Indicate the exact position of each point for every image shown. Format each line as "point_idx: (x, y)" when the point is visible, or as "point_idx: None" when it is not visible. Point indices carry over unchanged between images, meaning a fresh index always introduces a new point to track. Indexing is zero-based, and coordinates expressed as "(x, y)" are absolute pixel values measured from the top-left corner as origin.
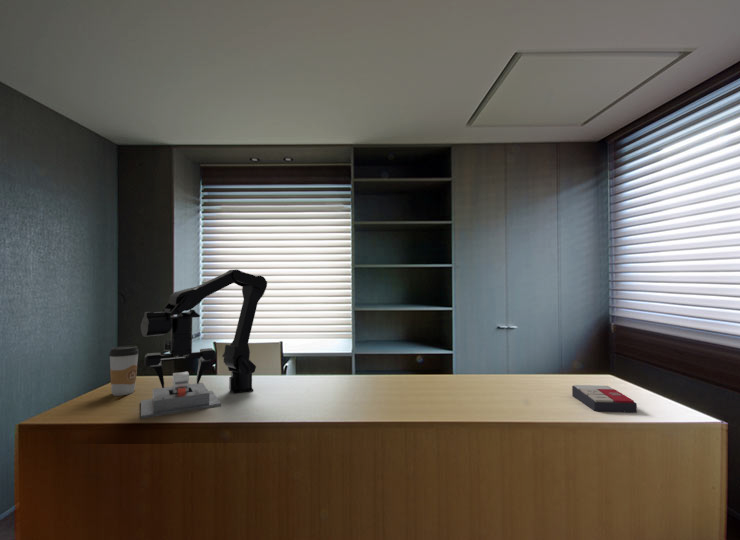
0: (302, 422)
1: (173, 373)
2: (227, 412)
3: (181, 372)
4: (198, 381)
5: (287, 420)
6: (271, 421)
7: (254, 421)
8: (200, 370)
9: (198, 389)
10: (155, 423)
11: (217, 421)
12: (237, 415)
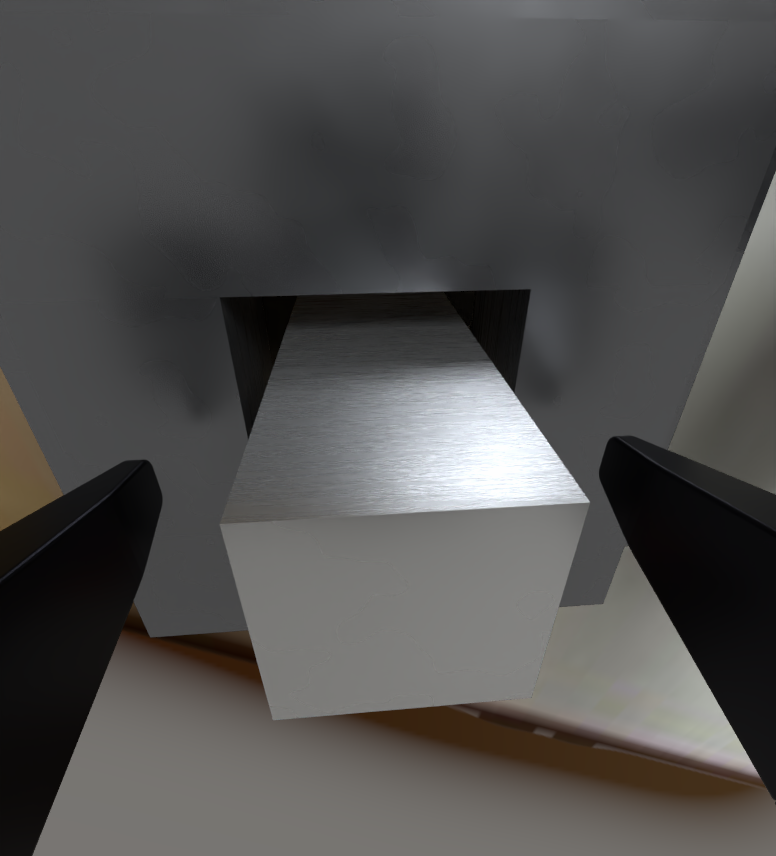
0: (730, 772)
1: (241, 557)
2: (593, 632)
3: (436, 532)
4: (627, 509)
5: (712, 753)
6: (667, 748)
7: (622, 735)
8: (753, 729)
9: (573, 456)
10: (230, 646)
11: (506, 702)
12: (608, 675)
